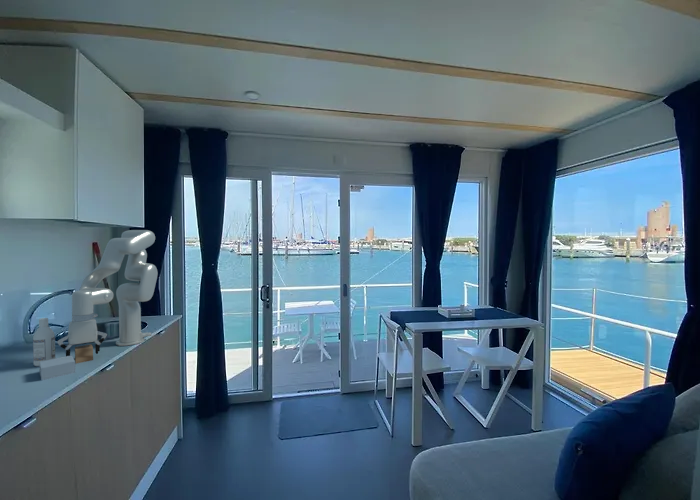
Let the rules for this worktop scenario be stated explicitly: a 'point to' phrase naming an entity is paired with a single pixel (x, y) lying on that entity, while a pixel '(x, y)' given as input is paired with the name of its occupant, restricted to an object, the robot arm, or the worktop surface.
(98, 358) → the worktop surface
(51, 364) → the base block
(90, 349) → the walnut cube
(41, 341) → the bath foam
